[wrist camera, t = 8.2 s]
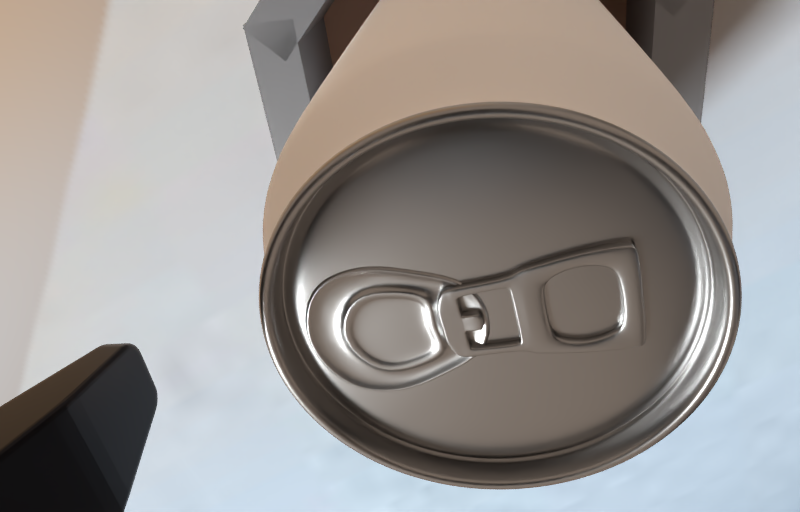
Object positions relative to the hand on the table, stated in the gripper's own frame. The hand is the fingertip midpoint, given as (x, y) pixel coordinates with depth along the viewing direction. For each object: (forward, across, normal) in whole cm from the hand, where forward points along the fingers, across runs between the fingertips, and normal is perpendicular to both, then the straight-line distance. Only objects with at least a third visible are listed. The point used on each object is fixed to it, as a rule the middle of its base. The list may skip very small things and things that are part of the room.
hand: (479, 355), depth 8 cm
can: (+12, 0, 0) cm, 12 cm away
